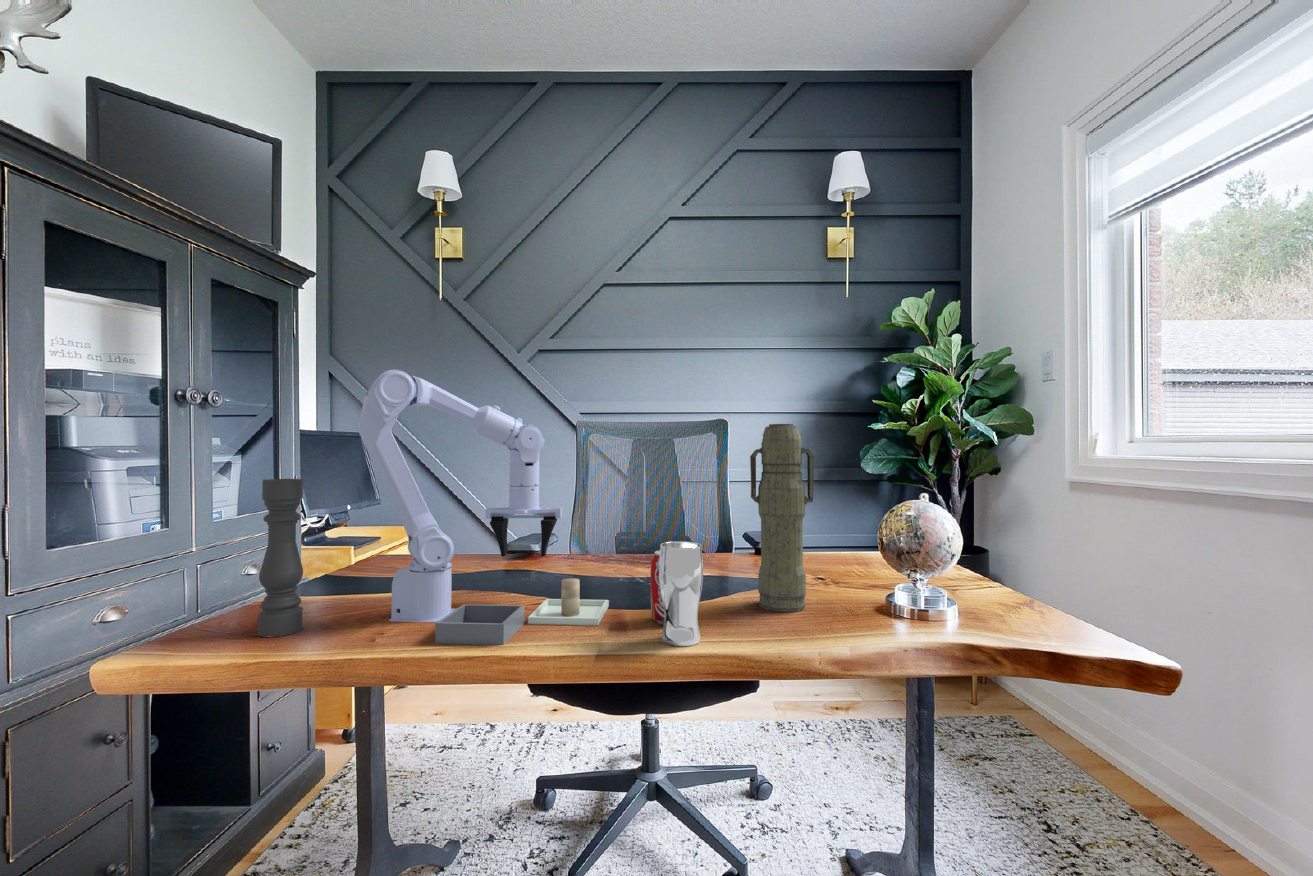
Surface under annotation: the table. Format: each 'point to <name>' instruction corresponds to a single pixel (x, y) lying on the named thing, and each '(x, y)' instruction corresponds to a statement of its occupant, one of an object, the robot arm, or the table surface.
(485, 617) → the charcoal bin
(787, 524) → the thermos
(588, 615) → the sage tray
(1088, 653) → the table surface
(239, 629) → the table surface
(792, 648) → the table surface
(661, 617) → the soda can
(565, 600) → the birch pin
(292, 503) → the candle holder
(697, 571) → the beer glass
